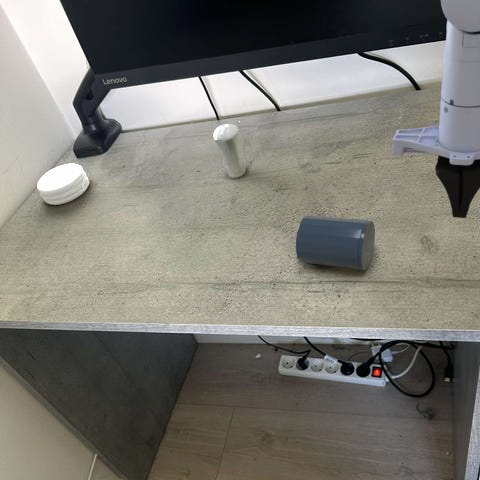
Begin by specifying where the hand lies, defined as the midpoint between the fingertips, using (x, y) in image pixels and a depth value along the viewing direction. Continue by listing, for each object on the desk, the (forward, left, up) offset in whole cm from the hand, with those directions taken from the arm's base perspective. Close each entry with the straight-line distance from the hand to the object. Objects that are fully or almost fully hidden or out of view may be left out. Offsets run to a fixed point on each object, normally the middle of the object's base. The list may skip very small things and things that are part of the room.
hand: (460, 212), depth 55 cm
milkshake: (+30, -33, -10) cm, 46 cm away
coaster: (+67, -38, -10) cm, 78 cm away
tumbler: (+10, -4, -7) cm, 13 cm away
